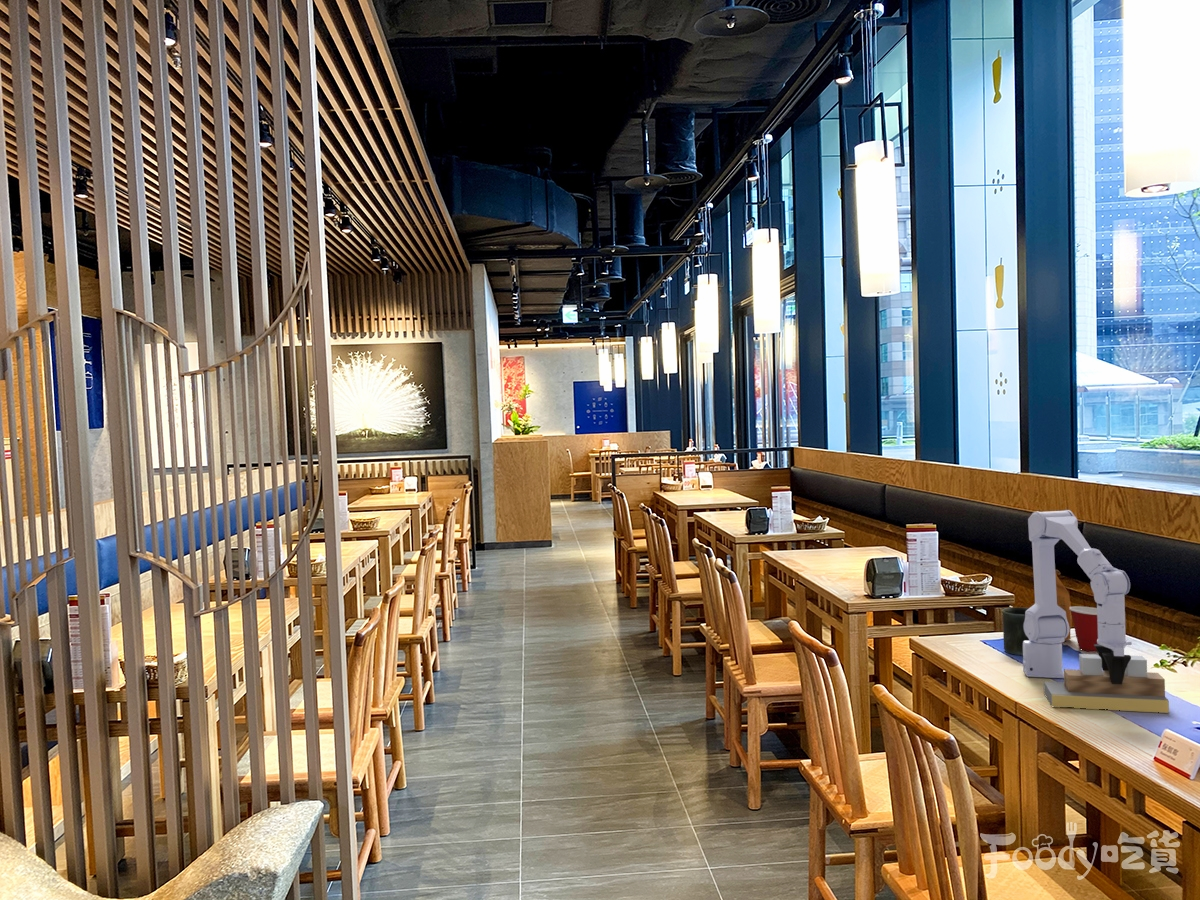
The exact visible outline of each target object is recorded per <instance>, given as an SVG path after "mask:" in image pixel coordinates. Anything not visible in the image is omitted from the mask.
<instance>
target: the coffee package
mask: <svg viewBox="0 0 1200 900" xmlns="http://www.w3.org/2000/svg"><path fill="white" fill-rule="evenodd" d="M1060 575H1061V572H1060V571H1059V570H1058V569H1055V576H1056V595H1057V605H1058V606H1059V607H1060V608H1062V609H1063V610H1064V611H1065V612H1066V617H1067V621H1068V623H1069V634H1068V636H1067V637H1066V638H1065V641H1066V640H1071V629H1072V625H1073V622H1072V621H1073V619H1072V615H1071V611H1070V610H1069V608H1070V607H1071V599H1070V593H1069V591H1068V590H1067V588H1066V586H1065V585H1064V584H1063V583H1062V581H1061V579H1059V577H1058V576H1060ZM1049 616H1053V615H1049Z"/></svg>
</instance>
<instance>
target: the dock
mask: <svg viewBox="0 0 1200 900" xmlns="http://www.w3.org/2000/svg"><path fill="white" fill-rule="evenodd" d="M1043 689H1044V691H1043V693H1045V694H1044V695H1046V696H1047V697H1046V696H1045V697H1046V699H1047V698H1048V699H1047V700H1049V701H1048V703H1049V702H1050V703H1051V704H1050V703H1049V704H1050V706H1051V705H1052V706H1056V707H1055V708H1060V707H1074V708H1073V709H1080V708H1086V709H1085V710H1099V709H1105V710H1106V709H1108V710H1107V711H1119V710H1120V711H1121V712H1123V711H1124V712H1141V713H1142V712H1144V713H1158V712H1159V713H1162V714H1170V703H1169V702H1170V701H1169V699H1168V698H1167V697H1166V695H1165V696H1143V695H1122V694H1100V693H1079V692H1068V689H1066V687H1065V686H1064V681H1063V682H1062V681H1061V682H1060V681H1059V682H1058V681H1044V682H1043ZM1052 706H1051V707H1052ZM1105 710H1104V711H1105Z"/></svg>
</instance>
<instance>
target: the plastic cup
mask: <svg viewBox="0 0 1200 900" xmlns="http://www.w3.org/2000/svg"><path fill="white" fill-rule="evenodd" d="M1069 610H1070V611H1071V619H1072V621H1073V622H1072V624H1073V627H1074V632H1075V637H1076V640H1077V647H1078V649H1079V648H1080V649H1082V650H1081V651H1083V650H1086V651H1085V652H1089V651H1097V650H1096V648H1095V647H1094V645H1095V644H1098V643H1097V639H1098V623H1097V607H1091V606H1090V607H1089V606H1081V605H1080V606H1070V608H1069ZM1080 649H1079V650H1080Z"/></svg>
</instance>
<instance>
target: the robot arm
mask: <svg viewBox="0 0 1200 900" xmlns="http://www.w3.org/2000/svg"><path fill="white" fill-rule="evenodd" d="M1078 524H1079V522H1078V518H1077V516H1076V515H1075V514H1074V513H1073V511H1072V510H1070V509H1064V510H1054V511H1053V510H1051V511H1033V512H1032V513H1031V515H1030V516H1029V517H1028V518H1027V525H1028V527H1027V528H1028V540H1029V541H1030V542H1031V548H1032V549H1031V550H1032V569H1033V584H1034V585H1033V586H1034V587H1033V590H1034V604H1033V605H1031V606H1030V607H1028V608H1029V609H1028V610H1026V611H1025V621H1024V632H1025V634H1026V636H1027V637H1028V638H1029V640H1027V641H1023V655H1022V670H1023V672H1024V673H1025V675H1026V677H1028V678H1045V679H1046V678H1049V679H1050V678H1051V679H1064V667H1063V666H1064V664H1063V643H1064V642H1065V641H1066V640H1065V638H1066V637H1067V636H1068V634H1069V623H1068V621H1067V617H1066V612H1065V611H1064V610H1063V609H1062V608H1060V607H1059V606H1058V605H1057V595H1056V576H1055V570H1056V563H1055V559H1056V558H1055V545H1056V544H1057V543H1059V541H1060V540H1062V541H1063V542H1064V543H1065V544H1066V545H1067V546H1068V547H1069V548H1070V550H1072V551H1073V553H1075V555H1077V560H1076V561H1077V564H1078V565H1079V566H1080V568H1081V569H1082V570H1083V572H1084V573H1085V574H1086V576H1087V577H1088V579H1090V582H1089V583H1090V588H1091V591H1092V593H1093V599H1094V602H1095V603H1096V608H1097V623H1098V639H1097V643H1098V644H1095V645H1094V647H1095V648H1096V650H1097V655H1099V656H1100V658H1101V659H1102V671H1109V676H1110V680H1111V683H1112V684H1122V682H1123V678H1124V674H1125V670H1126V667H1127V665H1128V663H1129V661H1130V660H1131V656H1132V655H1130V654H1125V648H1126V646H1131V645H1132V641H1131V640H1129V639H1128V640H1127V639H1126V638H1127V637H1126V611H1125V610H1126V609H1125V608H1126V605H1125V604H1126V602H1125V599H1126V598H1125V597H1126V596H1125V595H1127V594H1128V593H1129V592H1130V589H1131V582H1130V581H1131V580H1130V578H1129V576H1128V574H1127V573H1126V571H1124V570H1123V569H1122V570H1121V569H1118V568H1116V567H1114V566H1112V564H1111V562H1109V561H1108V559H1107V558H1106V557H1105V556H1104V555H1103V553H1102V552H1101V550H1100V549H1097V548H1094V547H1093V548H1092V547H1091V546H1090V545H1089V543H1088V541H1087V540H1086V539H1085V537H1084V535H1083V534H1082V533H1081V531H1080V529H1079V528H1078V527H1079V526H1078ZM1049 615H1053V616H1049Z"/></svg>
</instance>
